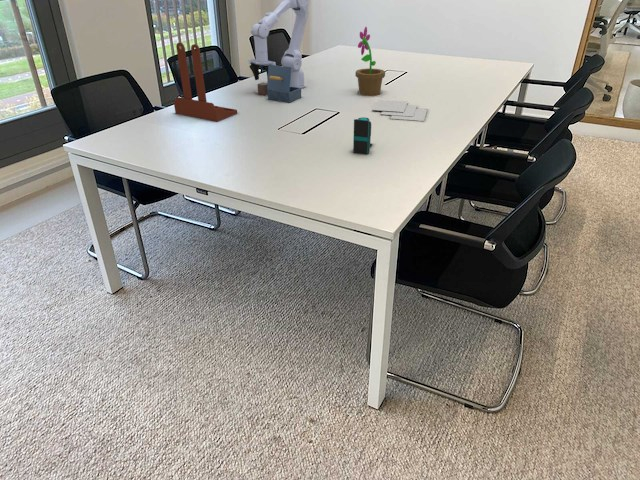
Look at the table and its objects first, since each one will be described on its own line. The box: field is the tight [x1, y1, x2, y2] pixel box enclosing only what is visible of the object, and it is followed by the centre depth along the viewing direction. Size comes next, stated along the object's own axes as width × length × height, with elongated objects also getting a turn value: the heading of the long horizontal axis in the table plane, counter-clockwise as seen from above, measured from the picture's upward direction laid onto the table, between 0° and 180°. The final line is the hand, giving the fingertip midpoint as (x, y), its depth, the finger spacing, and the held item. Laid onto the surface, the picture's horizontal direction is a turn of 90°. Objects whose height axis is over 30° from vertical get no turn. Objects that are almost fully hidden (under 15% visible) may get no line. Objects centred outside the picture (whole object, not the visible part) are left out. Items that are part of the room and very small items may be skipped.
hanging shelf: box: [173, 42, 238, 123], centre depth 210 cm, size 24×13×30 cm, turn 59°
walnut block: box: [257, 81, 268, 96], centre depth 243 cm, size 4×4×5 cm
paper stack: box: [371, 99, 428, 122], centre depth 217 cm, size 23×25×1 cm
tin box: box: [267, 87, 302, 104], centre depth 236 cm, size 10×12×4 cm
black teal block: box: [352, 116, 373, 155], centre depth 175 cm, size 6×12×10 cm
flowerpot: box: [355, 26, 386, 97], centre depth 236 cm, size 14×14×30 cm
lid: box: [266, 64, 291, 92], centre depth 228 cm, size 11×12×4 cm
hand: (263, 80), depth 241 cm, fingers open, 7 cm apart
